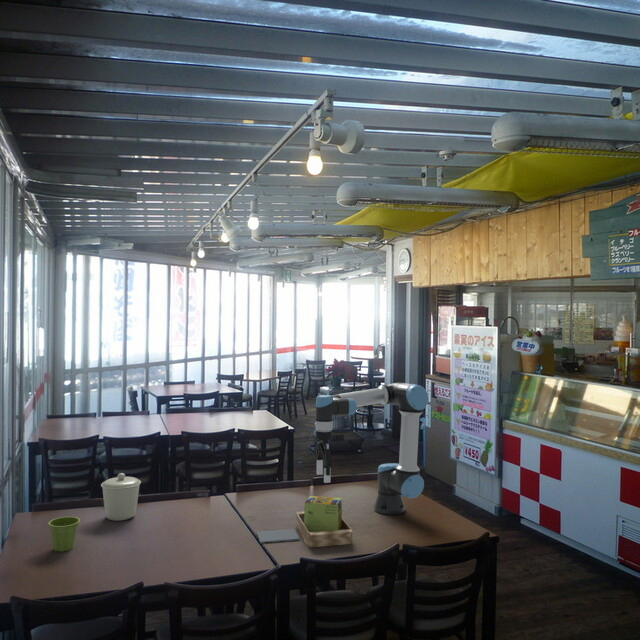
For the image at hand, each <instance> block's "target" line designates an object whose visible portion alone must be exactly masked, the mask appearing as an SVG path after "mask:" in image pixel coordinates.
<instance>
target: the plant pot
mask: <svg viewBox="0 0 640 640" xmlns="http://www.w3.org/2000/svg"><path fill="white" fill-rule="evenodd" d="M80 522H81V519H80V518H79V517H76V516H62V517H56V518H53V519H51V520H50V521H49V522H48V526H49V528H50V532H51V540H52V546H53V550H54V551H55V552H61V553H62V552H68V551H70V550H71V549H73V548H74V544H75V538H76V533H77V528H78V526H79V523H80Z"/></svg>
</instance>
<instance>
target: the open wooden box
mask: <svg viewBox="0 0 640 640" xmlns="http://www.w3.org/2000/svg"><path fill="white" fill-rule="evenodd" d="M295 514H296V515H295V527H296V528H297V530H298V532H299V535H300V536H301V537H302V539H303V541H304V543H305V544H306V546H307V548H316V547H317V548H318V547H320V548H321V547H329V546H330V547H331V546H340V545H341V546H342V545H352V544H353V529H352V527H351V526H350V525H349V524H348V523H347V522H346V520H345V519H344V518H343V517H342V530H335V531H322V532H310V533H309V531H308V529H307V528H306V526H305V525H304V510H303V511H296V513H295Z"/></svg>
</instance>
